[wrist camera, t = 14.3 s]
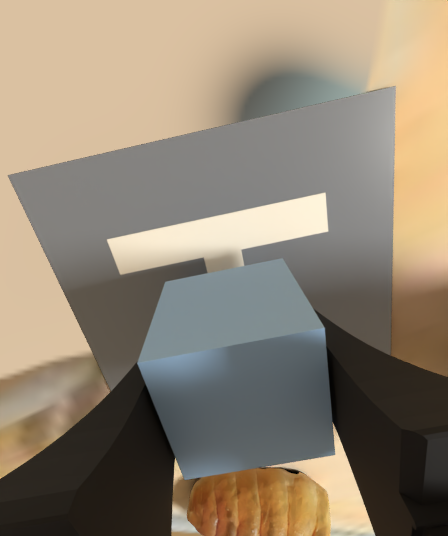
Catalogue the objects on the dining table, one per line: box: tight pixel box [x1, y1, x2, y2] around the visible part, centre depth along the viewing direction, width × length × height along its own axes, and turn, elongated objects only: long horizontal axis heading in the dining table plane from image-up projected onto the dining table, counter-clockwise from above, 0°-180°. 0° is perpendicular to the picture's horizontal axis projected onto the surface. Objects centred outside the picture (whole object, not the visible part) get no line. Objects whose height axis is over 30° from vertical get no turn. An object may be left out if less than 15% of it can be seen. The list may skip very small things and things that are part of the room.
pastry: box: [187, 468, 331, 536], centre depth 20 cm, size 9×7×4 cm
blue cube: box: [137, 258, 335, 480], centre depth 11 cm, size 5×5×5 cm
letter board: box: [8, 86, 396, 391], centre depth 15 cm, size 16×16×1 cm
